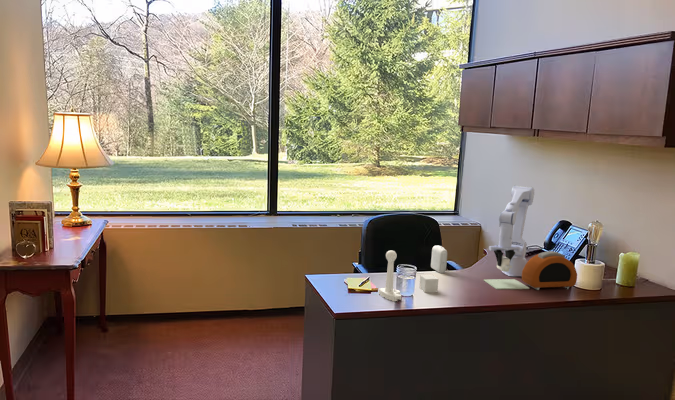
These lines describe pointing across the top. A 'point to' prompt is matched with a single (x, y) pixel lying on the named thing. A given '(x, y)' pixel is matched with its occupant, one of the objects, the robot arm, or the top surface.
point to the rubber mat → (505, 284)
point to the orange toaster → (549, 271)
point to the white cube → (428, 283)
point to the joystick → (390, 279)
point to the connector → (505, 264)
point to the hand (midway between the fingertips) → (502, 265)
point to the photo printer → (439, 259)
